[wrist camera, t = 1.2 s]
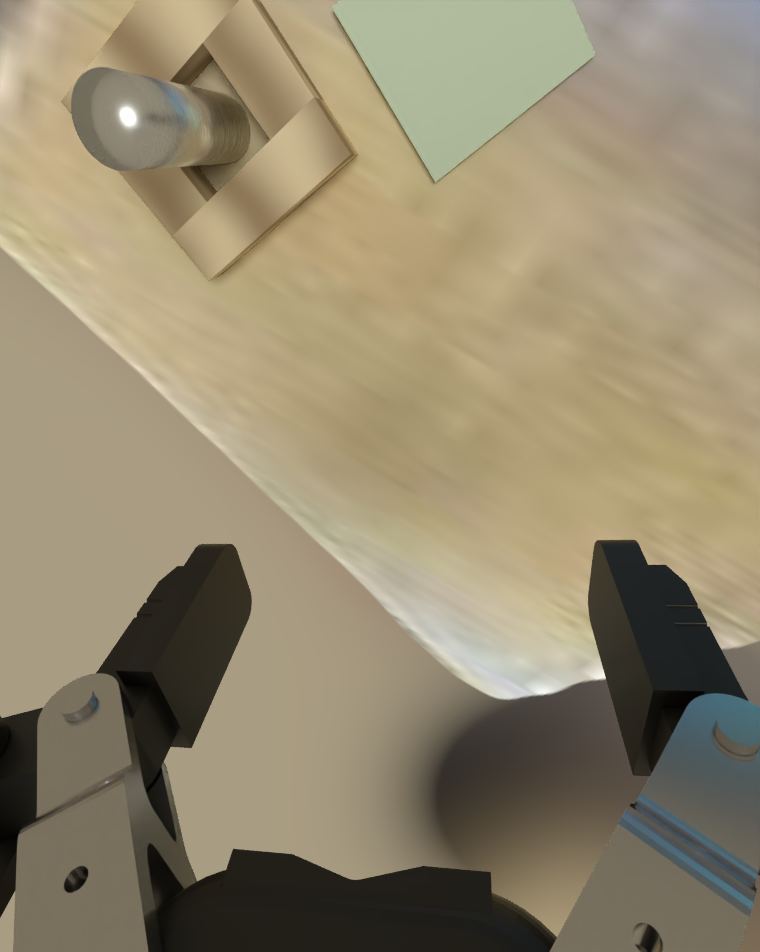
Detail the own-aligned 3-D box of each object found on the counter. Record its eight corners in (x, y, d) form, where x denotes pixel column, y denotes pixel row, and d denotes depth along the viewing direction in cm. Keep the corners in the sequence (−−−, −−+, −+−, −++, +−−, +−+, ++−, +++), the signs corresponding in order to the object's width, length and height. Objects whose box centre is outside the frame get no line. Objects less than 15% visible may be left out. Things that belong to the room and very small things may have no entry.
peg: (221, 77, 31) (105, 43, 21) (262, 136, 32) (172, 131, 22) (181, 121, 32) (54, 110, 22) (222, 176, 33) (120, 189, 23)
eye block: (219, -64, 27) (199, -81, 25) (357, 154, 32) (350, 154, 30) (86, 104, 32) (60, 101, 30) (223, 273, 37) (208, 281, 35)
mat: (499, -162, 24) (499, -168, 24) (593, 56, 28) (595, 54, 28) (334, 10, 28) (332, 8, 28) (435, 182, 32) (435, 182, 32)
